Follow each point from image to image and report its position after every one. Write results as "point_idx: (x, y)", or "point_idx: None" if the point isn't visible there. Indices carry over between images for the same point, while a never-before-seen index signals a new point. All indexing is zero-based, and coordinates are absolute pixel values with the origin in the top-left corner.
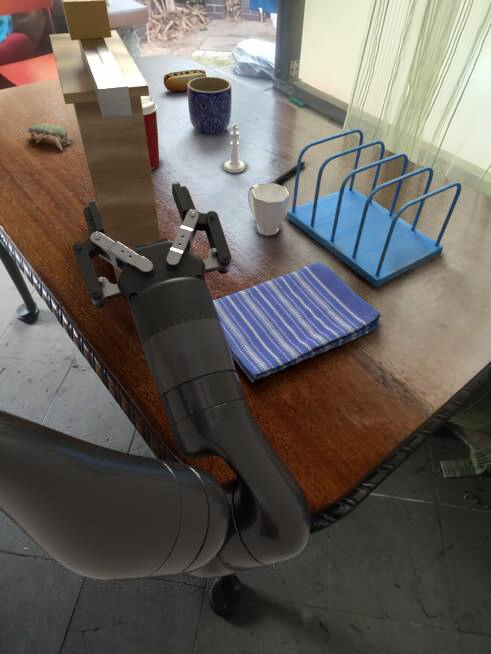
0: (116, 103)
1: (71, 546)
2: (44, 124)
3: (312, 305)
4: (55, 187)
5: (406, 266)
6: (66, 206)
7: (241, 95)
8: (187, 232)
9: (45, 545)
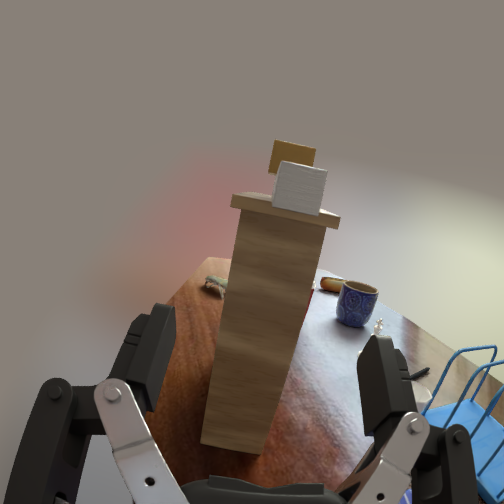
0: (300, 189)
1: None
2: (219, 277)
3: None
4: (199, 321)
5: None
6: (198, 339)
7: (377, 306)
8: (397, 484)
9: None
